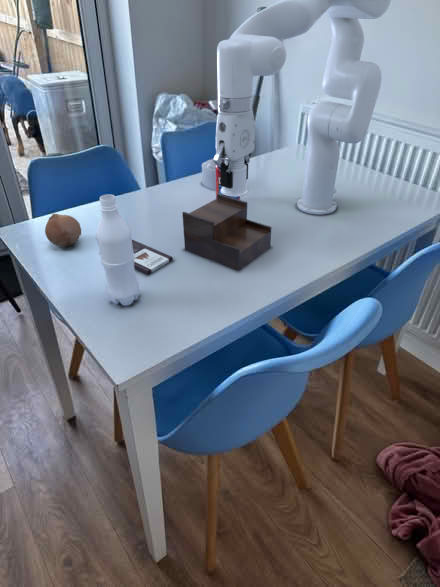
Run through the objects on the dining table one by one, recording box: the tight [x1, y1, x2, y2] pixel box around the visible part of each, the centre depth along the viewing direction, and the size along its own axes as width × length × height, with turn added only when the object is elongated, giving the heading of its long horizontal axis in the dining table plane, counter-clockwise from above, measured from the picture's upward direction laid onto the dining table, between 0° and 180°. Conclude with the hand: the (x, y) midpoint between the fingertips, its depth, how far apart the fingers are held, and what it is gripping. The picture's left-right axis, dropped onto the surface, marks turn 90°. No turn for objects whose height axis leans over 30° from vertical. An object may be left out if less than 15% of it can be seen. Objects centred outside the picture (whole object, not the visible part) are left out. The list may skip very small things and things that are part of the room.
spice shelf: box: [181, 194, 273, 272], centre depth 113 cm, size 15×18×11 cm
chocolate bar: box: [132, 239, 173, 276], centre depth 113 cm, size 9×1×18 cm
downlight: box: [220, 155, 250, 197], centre depth 103 cm, size 8×7×10 cm
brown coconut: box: [44, 213, 82, 248], centre depth 117 cm, size 10×9×10 cm
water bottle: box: [95, 193, 140, 307], centre depth 91 cm, size 7×7×25 cm
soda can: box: [215, 165, 241, 200], centre depth 135 cm, size 8×8×15 cm
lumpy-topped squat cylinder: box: [201, 158, 216, 191], centre depth 152 cm, size 10×13×9 cm
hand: (234, 182), depth 104 cm, fingers closed on downlight, 5 cm apart
